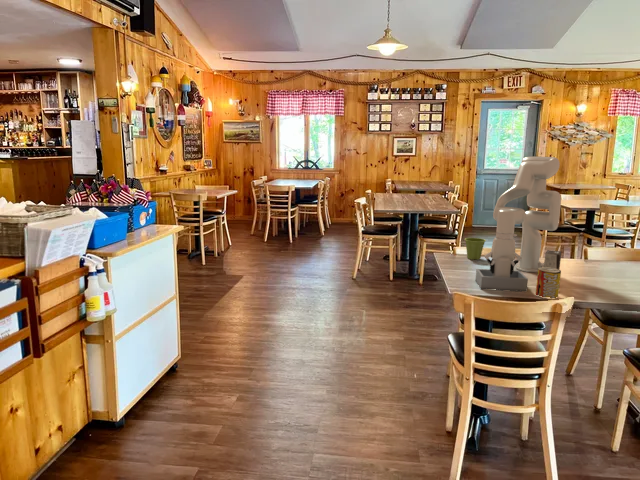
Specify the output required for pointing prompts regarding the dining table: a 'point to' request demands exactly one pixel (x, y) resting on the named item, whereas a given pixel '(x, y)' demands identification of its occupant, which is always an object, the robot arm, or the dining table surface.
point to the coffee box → (552, 259)
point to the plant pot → (474, 247)
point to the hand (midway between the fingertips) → (501, 273)
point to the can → (502, 267)
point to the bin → (501, 281)
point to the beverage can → (548, 282)
